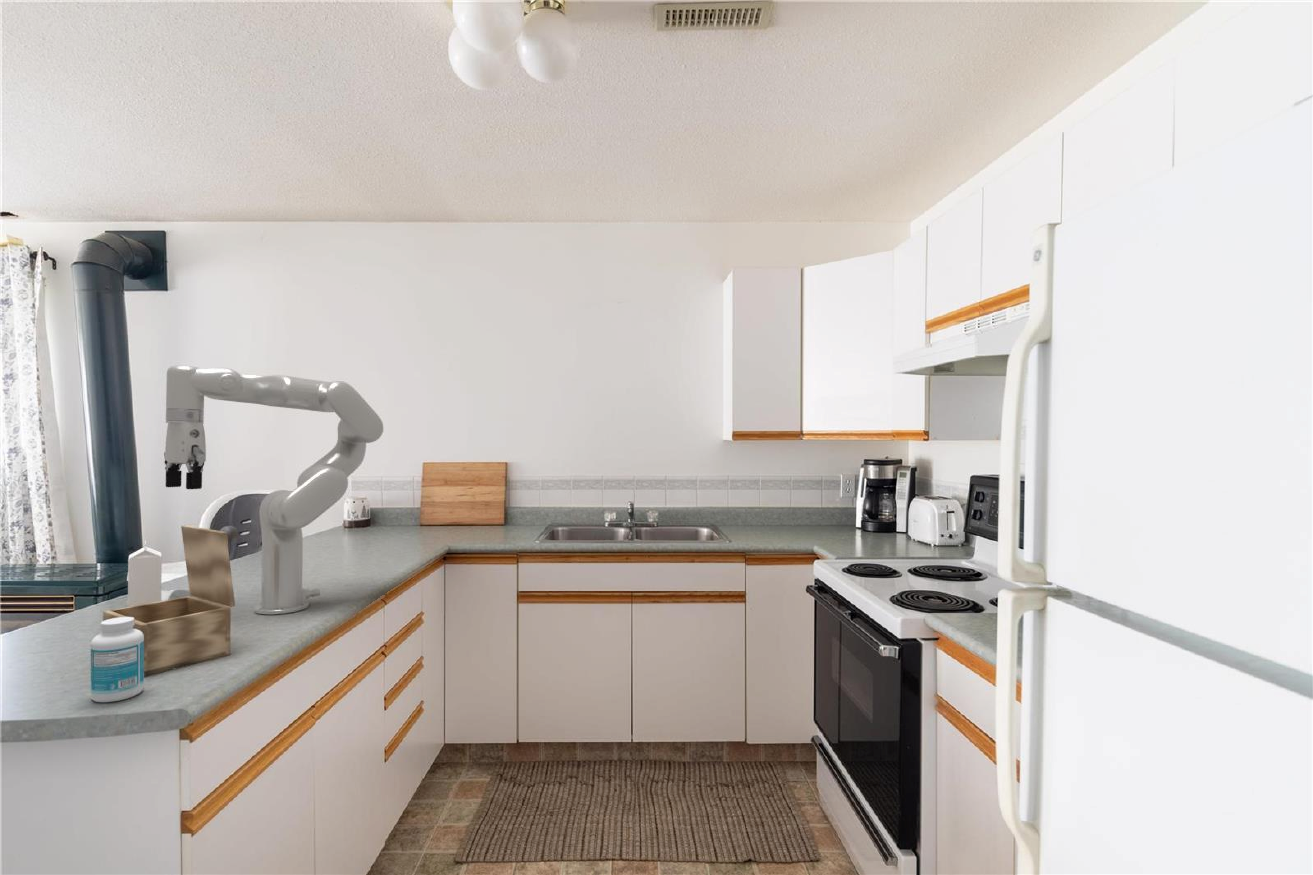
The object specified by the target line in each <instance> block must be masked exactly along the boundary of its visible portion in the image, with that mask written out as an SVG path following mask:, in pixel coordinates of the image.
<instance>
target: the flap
mask: <svg viewBox="0 0 1313 875" xmlns="http://www.w3.org/2000/svg"><path fill="white" fill-rule="evenodd" d="M181 534H182V544H183V551H184V558H185V565H186V566H185V567H186V574H187V582H188V590H189V591H190V596H194V597H197V598H201V599H204V600H206V601H210V602H213V603H217V604H220V605H224V606H227V607H231V608H234V607H236V602H235V593H234V586H233V585H234V584H233V578H232V577H233V576H232V570H231V569H232V568H231V562H230V554H229V553H230V552H229V545H232V544H234V543H235V542H237V540H238V538H239V537H240V532H239V530H238V529H237V527H235V526H233V525H226V526H224V527H222V528H221V529H219V530H217V529H210V528H203V527H199V526H192V525H181Z"/></svg>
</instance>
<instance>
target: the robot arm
mask: <svg viewBox="0 0 1313 875" xmlns="http://www.w3.org/2000/svg"><path fill="white" fill-rule="evenodd" d="M165 387H166V390H165V391H166V393H165V394H166V397H165V400H166V402H165V423H166V424H167V428H166V429H167V430H166V437H165V451H164V453H163V457H164V465H165V467H164V470H165V487H166V488H180V487H181V486H182V474H183V473H182V470H180V469H181V467H182V466H183V465H185V466H186V468H187V472H185V475H186V476H185V489H186V490H201V489H202V488H203V472H204V466H205V463H206V461H207V445H206V433H205V427H204V420H205V417H204V414H205V397H206V398H208V399H211V400H216V401H217V400H218V401H224V402H225V401H228V402H235V403H244V404H252V405H253V404H254V405H260V406H261V405H263V406H267V407H275V408H285V409H293V410H294V409H296V410H303V411H304V410H305V411H310V412H311V411H312V412H318V413H319V412H321V413H335V414H336V415H337V416H338V418H339V419H340V420H339V421H338V425H337V441H336V444H335V445H334V446H333V448H332V449H331V450H330V451H328V452H327V453H326V454H325V455H324V456H323V457H321V458H319V459H318V460H317V461H316V462H314V463H313V464H312V465H310V466H308V468H306V469H304V470H303V471H302V472H301V473H300V475H299V476H298V478H297V482H296V488H295V489H294V490H285V489H284V490H283V489H281V490H280V489H279V490H275V491H271V492H270V493H268V494H267V495H266V496H265V497H264V498H263V499H262V501H261V503H260V506H259V523H260V529H261V530H260V531H261V589H260V590H261V596H260V598H261V603H259V604H256V605H255V606H254V612H255V613H256V614H259V615H283V614H289V613H295V612H299V611H302V610H306V609H307V608H309V600H308V599H309V598H310V597H311V598H313V597H318V596H320V594H321V590H320V589H319V588H313V589H311V590H310V589H305V588H303V551H304V550H303V549H304V548H303V547H304V544H303V540H304V539H303V530H302V528H304V527H306V526H308V525H310V524H311V523H313V522H314V521H315V520H317V519H318V518H319V517H320V516H322V515H323V514H324V513H325V512H326V511H328V510H329V509H330V508H331V507H332V506H334V505H336V503H337V502H339V501H340V499H341V498H343V496H344V495H345V494H346V491H347V490H348V487H349V480H348V477H350V476H351V474H353V473H354V472H356V470H357V469H359V467H360V466H361V465H362V463H363V461H364V459H365V456H366V452H367V444H370V443H374V442H376V441H378V440H379V439H380V438H381V436H382V435H383V433H384V423H383V420H382V418H381V417H380V416H379V415H378V414H377V413H376V411H375V410H374V409H373V408H372V406H371V405H369V403H368V402H367V401H366V400H365V398H363V396H362V395H361V394H359V392H358V391H357V390H356V389H355V388H354V386H352V385H351V384H349V383H348V382H345V381H340V380H339V381H323V380H316V379H309V378H303V377H296V376H289V375H279V374H278V375H277V374H276V375H275V374H274V375H251V374H250V375H249V374H241V373H239V372H237V371H236V370H234V369H232V368H228V367H215V368H212V367H211V368H202V367H201V368H200V367H198V366H192V365H191V366H189V365H173V366H170V367H169V368H168V369H167V371H166V386H165Z"/></svg>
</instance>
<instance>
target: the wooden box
mask: <svg viewBox="0 0 1313 875" xmlns="http://www.w3.org/2000/svg"><path fill="white" fill-rule="evenodd" d="M231 612H232V607H229V606H225V605H222V604H218V603H215V602H211V601H208V600H203V599H199V598H196V597H192V596H187V597H182V598H176V599H170V600H165V601H159V602H153V603H148V604H142V605H136V606H131V607H128V606H127V607H120V608H114V609H108V610H104V611H102V621H105V620H108V619H112V618H118V617H133V618H134V622H135V624H134V626H133V629H137V630H140V631H141V632H142V633H143V635H144V678H145V677H148V676H153V675H155V673H156V674H160V673H164V672H168V671H171V670H170V669H172V670H174V669H173V668H176V669H179V667H180V668H183V667H182V666H184V667H187V666H186V665H188V666H190V665H189V664H192V665H195V664H199V662H200V663H203V661H204V662H206V661H207V660H208V661H211V660H210V659H212V660H215V659H218V658H222V657H223V658H224V657H227V656H230V655H231V625H232V624H231V620H232V617H231V616H232V613H231ZM152 674H153V675H152Z"/></svg>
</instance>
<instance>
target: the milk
mask: <svg viewBox="0 0 1313 875" xmlns="http://www.w3.org/2000/svg"><path fill="white" fill-rule="evenodd" d="M146 540H147V539H145V540H144V547H142V548H140V549H138V550H136V551H134V552H132V553H130V554H129V555H128V559H127V566H128V567H127V568H128V569H127V574H128V575H127V607H131V606H136V605H142V604H148V603H153V602H159V601H161V590H162V572H163V571H162V570H163V568H162V565H163V564H162V560H163V559H162V557H163V556H162V551H161V552H160V551H158V550H157V549H153V548H152V547H148V546H147V541H146Z"/></svg>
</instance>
